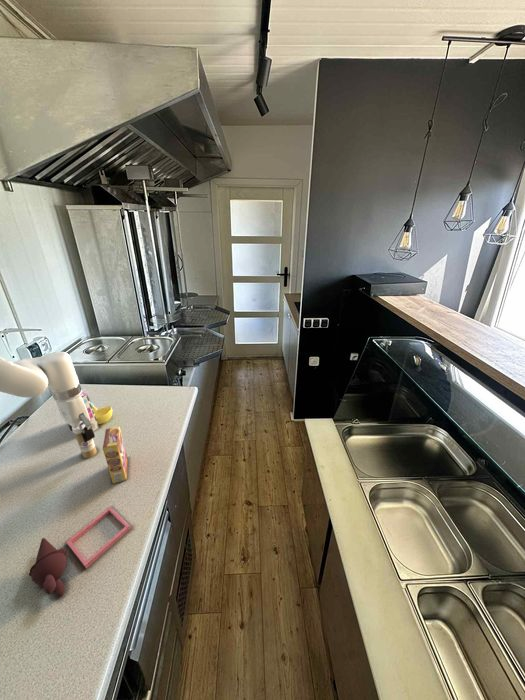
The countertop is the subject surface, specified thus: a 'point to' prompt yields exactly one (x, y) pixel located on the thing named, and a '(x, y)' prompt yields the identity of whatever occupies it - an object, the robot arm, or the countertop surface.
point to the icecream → (49, 568)
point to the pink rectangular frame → (107, 545)
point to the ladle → (102, 413)
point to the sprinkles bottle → (84, 443)
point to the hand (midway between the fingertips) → (82, 433)
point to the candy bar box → (90, 411)
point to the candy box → (115, 454)
